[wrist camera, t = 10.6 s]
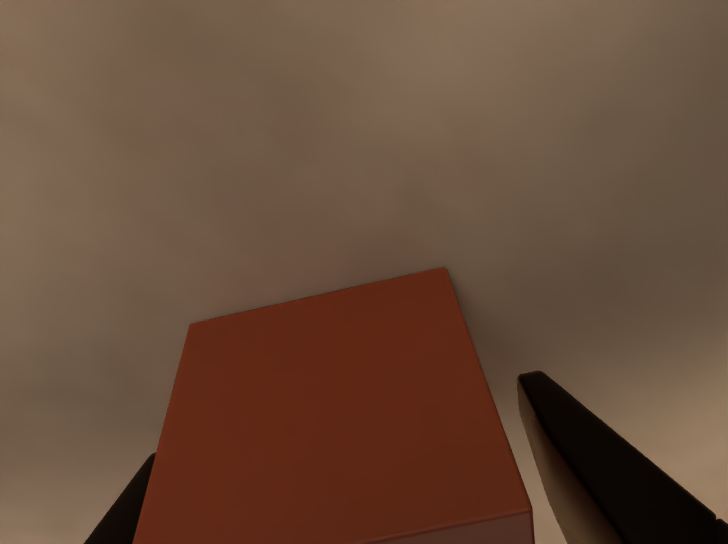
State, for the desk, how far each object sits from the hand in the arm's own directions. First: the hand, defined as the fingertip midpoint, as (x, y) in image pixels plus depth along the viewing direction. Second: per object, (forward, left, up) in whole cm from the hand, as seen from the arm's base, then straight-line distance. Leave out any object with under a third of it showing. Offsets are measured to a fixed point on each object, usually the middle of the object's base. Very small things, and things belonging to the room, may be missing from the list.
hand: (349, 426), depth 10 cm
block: (0, 0, -1) cm, 1 cm away
